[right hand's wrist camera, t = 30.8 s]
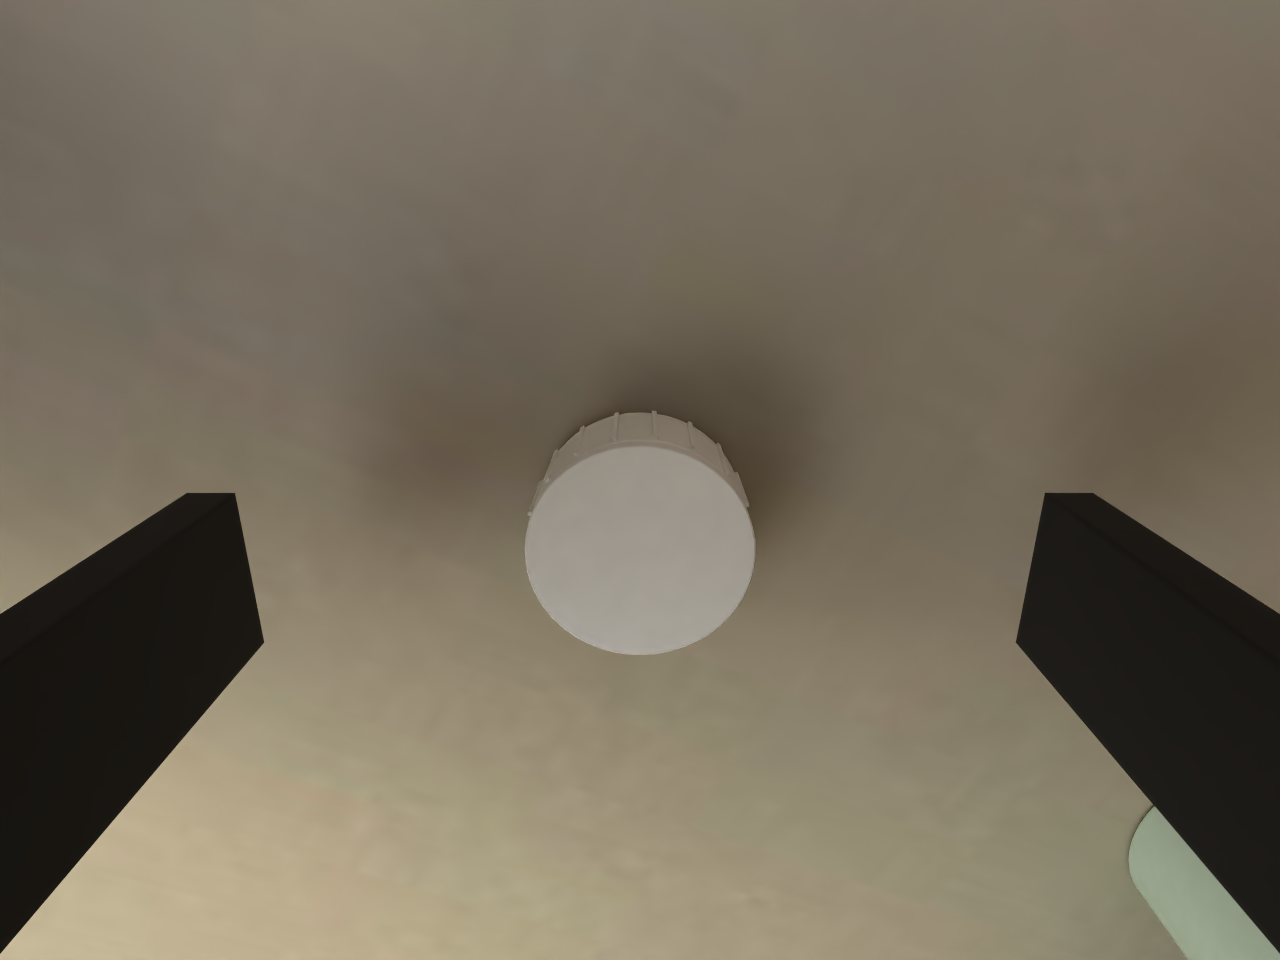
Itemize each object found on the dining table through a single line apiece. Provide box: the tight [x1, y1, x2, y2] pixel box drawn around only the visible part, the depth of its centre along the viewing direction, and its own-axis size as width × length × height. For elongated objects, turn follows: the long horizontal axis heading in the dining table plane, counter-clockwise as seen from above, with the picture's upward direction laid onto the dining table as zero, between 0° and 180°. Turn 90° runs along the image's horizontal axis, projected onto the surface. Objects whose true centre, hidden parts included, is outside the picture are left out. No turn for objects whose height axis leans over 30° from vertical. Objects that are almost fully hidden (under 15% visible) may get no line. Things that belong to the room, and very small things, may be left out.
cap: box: [525, 411, 756, 655], centre depth 14 cm, size 4×4×2 cm
